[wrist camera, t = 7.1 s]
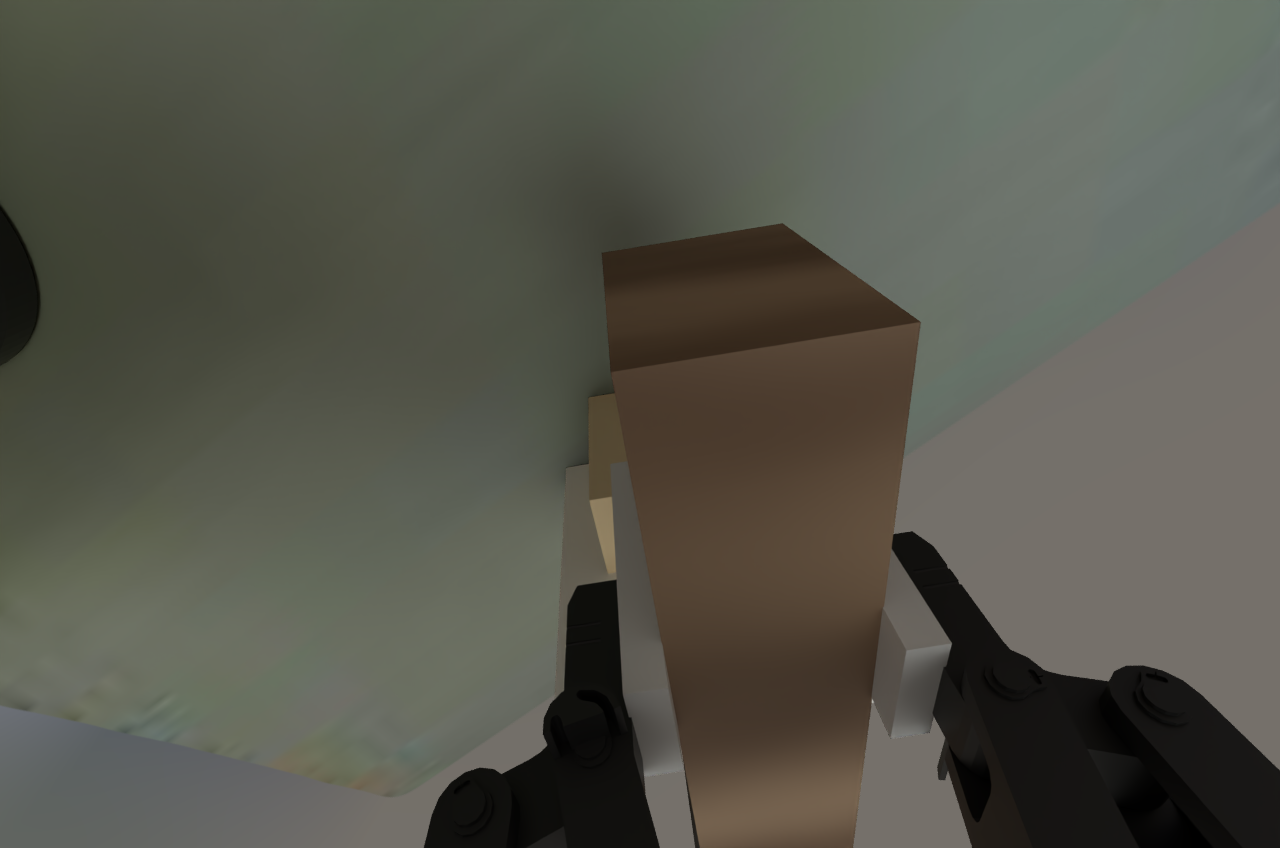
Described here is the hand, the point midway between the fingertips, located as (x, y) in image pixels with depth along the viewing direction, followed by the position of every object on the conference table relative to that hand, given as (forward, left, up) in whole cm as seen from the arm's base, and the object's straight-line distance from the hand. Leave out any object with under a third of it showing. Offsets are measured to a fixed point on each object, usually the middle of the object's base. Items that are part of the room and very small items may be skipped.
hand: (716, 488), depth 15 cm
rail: (+2, 0, 0) cm, 2 cm away
